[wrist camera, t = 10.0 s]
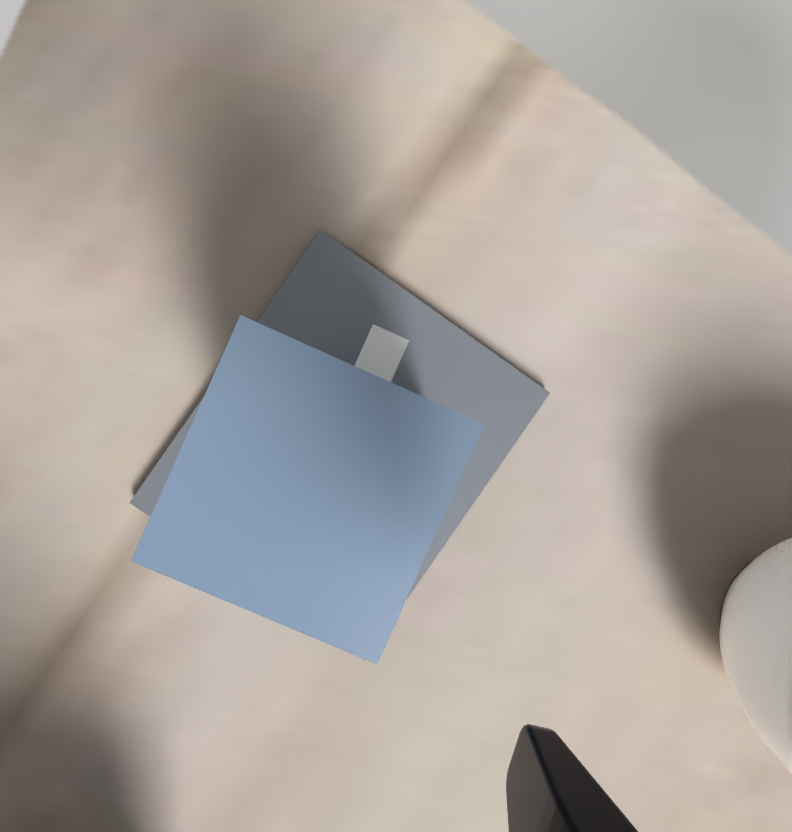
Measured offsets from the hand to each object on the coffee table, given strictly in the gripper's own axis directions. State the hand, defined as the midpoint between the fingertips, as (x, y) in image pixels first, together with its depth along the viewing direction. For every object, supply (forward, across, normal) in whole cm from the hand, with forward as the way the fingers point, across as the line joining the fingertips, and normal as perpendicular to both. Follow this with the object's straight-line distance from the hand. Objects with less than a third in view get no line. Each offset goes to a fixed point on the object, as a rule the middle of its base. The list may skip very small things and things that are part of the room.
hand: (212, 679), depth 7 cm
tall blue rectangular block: (+15, 0, +1) cm, 15 cm away
